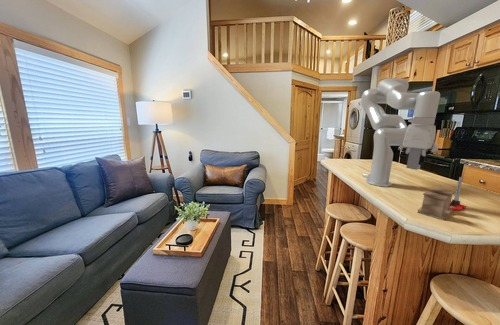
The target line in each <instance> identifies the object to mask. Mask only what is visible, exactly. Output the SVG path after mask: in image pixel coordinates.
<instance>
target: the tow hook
mask: <svg viewBox="0 0 500 325" xmlns="http://www.w3.org/2000/svg"><path fill="white" fill-rule="evenodd" d="M462 180H463V177H462V176H459V179H458V181H457V185H456V190H455V193H454V197H453V199H451V203H450V207H449V208H450V209H453V210H452V211H455V212H457V211H458V212H459V211H463V210H465V209H466V208H467V205H463V204H461V200H460V196H461V194H460V193H461V188H462ZM451 206H453V207H451Z"/></svg>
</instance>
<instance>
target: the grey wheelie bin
mask: <svg viewBox="0 0 500 325" xmlns="http://www.w3.org/2000/svg"><path fill="white" fill-rule="evenodd" d="M421 155H422V149H417V148H410V152H409V157H408V162H407V163H406V169H410V170H420V169H421V166H422V165H419V161H420V156H421Z"/></svg>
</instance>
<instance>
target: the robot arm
mask: <svg viewBox="0 0 500 325" xmlns="http://www.w3.org/2000/svg"><path fill="white" fill-rule="evenodd" d="M409 85H410V84H409V82H408V80H407V79H406V78H399V77H398V78H397V77H396V78H395V77H394V78H393V77H390V78H389V77H388V78H387V77H386V78H384V79H382V80H380V81H379V82H378V83H377V87H376V88H369V89H366V90H365V91H363V93H362V95H361V98H360V101H361V106H362V109H363V111H364V112H365V113H366V116H367V118H368V120H369V122H370V125H371V127H372V129H373V130H374V134H373V152H372V160H371V167H370V168H371V169H370V173H369V174H368V173H363V174H362V177H363V178H366V180H365V182H366V183H367V184H369V185H372V186H377V187H378V186H379V187H384V188H385V187H392V185H393V183H392V182H390V177H391V171H392V164H393V159H394V152H393V150H392V148H391V146H393V147H394V146H395V147H396V146H398V147H399V148H401V149H402V150H403V152H404V153H405V159H404V160H405V163H406V164H407V162H408V157H409V152H410V148H417V149H422V155H421V156H420V161H419V165H421V166H422V165H423V164H425V163H426V162H425V161H426V158H427V156H428V155H430V154H433V153H434V152H435V153H436V152H438V151H439V148H438V146H437V145H436V143H435V142H436V132H437V130H436V125H435V122H436V121H435V120H436V117H437V116H436V115H437V113H438V108H439V105H440V104H439V102H440V100H441V99H440V98H441V93H440V92H439V91H436V90H435V91H433V90H429V91H428V90H426V91H421V92H407V91H408V89H409ZM379 104H383V105H384V104H387V105H388V106H390V107H391V108H393V109H395V110H403V111H406V110H407V111H413V114H412V118H408V119H407V120H408V123H411V124H408V125H407V122H406V121H405V119H404V117H403V116H401V115H399V114H388V113H386V112H385V111H384V108H383V107H382V106H381V105H379Z"/></svg>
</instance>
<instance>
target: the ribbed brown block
mask: <svg viewBox="0 0 500 325" xmlns="http://www.w3.org/2000/svg"><path fill="white" fill-rule="evenodd" d="M422 194H423V199H422V203H421V204H422V205H421V207H419V208H418V209H417V214H421V215H424V216H429V217H431V218H435V219H438V220H441V221H446V219H447V218H449V216H450V215H451V214H452V212H453V211H454V210H453V209H450V208H449V207H451V204H450V203H451V201H452V200H453V199H452V197H453V195H455V191H452V190H447V189H442V188H438V187H431V188H430V189H429V191H425V192H423V193H422Z"/></svg>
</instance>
